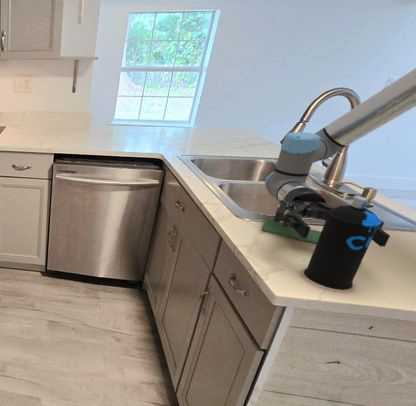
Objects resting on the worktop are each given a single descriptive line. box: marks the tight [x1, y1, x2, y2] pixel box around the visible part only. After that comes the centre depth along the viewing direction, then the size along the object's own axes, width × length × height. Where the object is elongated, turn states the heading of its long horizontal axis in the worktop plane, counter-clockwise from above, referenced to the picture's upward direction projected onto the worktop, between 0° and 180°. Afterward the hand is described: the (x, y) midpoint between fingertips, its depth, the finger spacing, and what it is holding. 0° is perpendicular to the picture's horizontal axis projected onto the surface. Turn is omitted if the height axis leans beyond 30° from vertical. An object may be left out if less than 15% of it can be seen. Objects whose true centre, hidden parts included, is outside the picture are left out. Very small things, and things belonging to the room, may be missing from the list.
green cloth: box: [260, 218, 322, 245], centre depth 103 cm, size 14×8×1 cm, turn 46°
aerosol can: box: [304, 196, 382, 290], centre depth 79 cm, size 8×8×20 cm
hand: (344, 236), depth 79 cm, fingers open, 13 cm apart
